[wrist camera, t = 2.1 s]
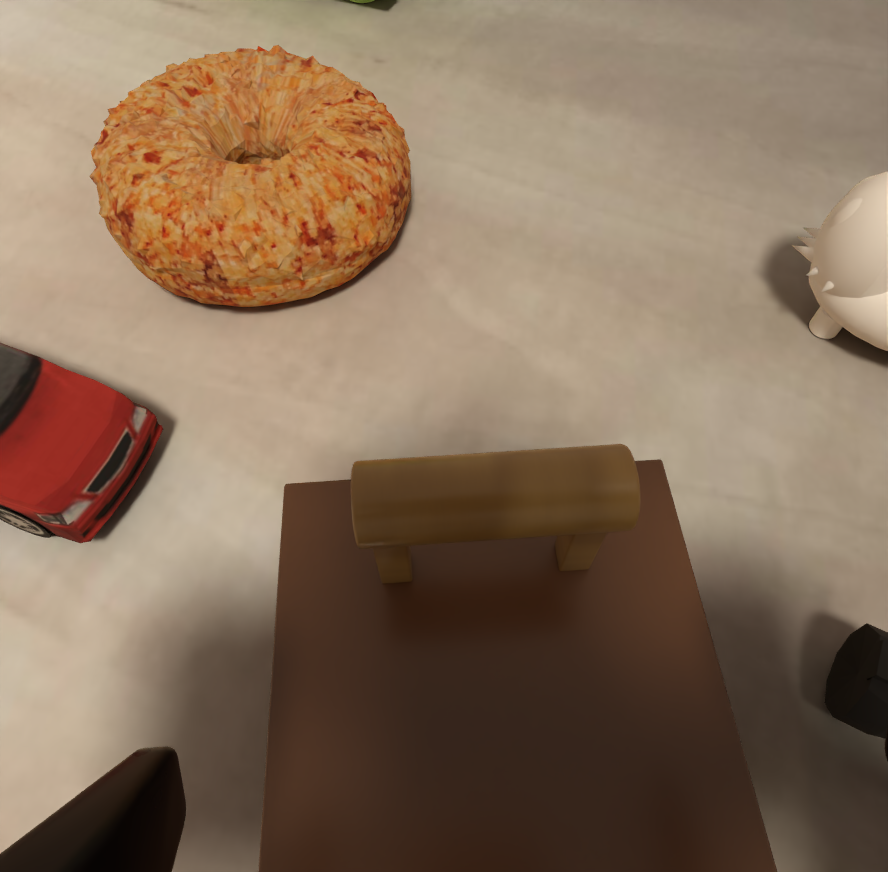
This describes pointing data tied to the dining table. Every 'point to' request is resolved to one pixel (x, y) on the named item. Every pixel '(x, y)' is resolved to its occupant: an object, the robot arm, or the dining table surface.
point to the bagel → (251, 177)
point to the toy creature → (852, 265)
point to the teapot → (361, 1)
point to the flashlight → (861, 682)
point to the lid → (499, 676)
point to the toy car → (66, 447)
